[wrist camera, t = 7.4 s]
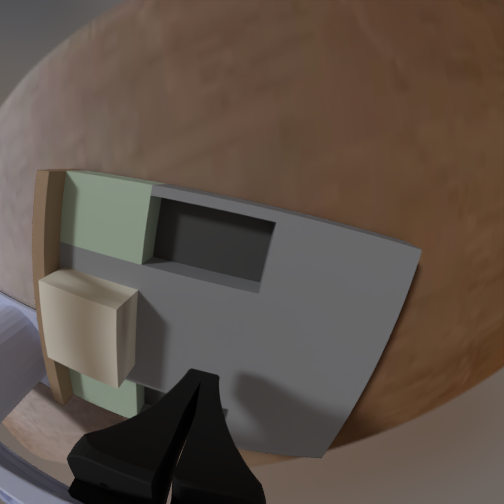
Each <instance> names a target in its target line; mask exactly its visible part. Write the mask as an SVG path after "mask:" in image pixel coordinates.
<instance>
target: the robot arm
mask: <svg viewBox="0 0 504 504" xmlns="http://www.w3.org/2000/svg"><path fill="white" fill-rule="evenodd" d="M219 379H220V377H219V376H218V375H217V374H213V373H208V372H204V371H200V370H197V369H193V368H191V369H189V370H188V371H187V373H186V374H185V375H184V376H183V377H182V379H181V380H180V381H179V382H178V383H177V384H176V385H175V386H174V387H173V388H172V389H171V390H170V391H169V392H167V393H166V394H165V395H164V396H163V397H161V398H160V399H159V400H158V401H157V402H155V403H154V404H153V405H151V406H150V407H148V408H147V409H145V410H144V411H142V412H140V413H139V414H137V415H135V416H133V417H131V418H129V419H127V420H125V421H123V422H121V423H118V424H116V425H113V426H111V427H108V428H105V429H102V430H99V431H95V432H91V433H87V434H84V435H83V436H82V437H81V439H80V440H79V441H78V442H77V443H76V444H75V446H74V447H73V449H72V450H71V452H70V453H69V455H68V457H67V461H68V464H69V466H70V469H71V471H72V473H73V475H74V477H75V479H74V481H73V482H72V484H71V486H70V487H69V486H67V485H65V484H63V483H61V482H60V481H58V480H56V479H55V478H53V477H51V476H49V475H48V474H46V473H44V472H43V471H41V470H40V469H38V468H37V467H35V466H33V465H32V464H30V463H29V462H27V461H26V460H24V459H23V458H22V457H20V456H19V455H17V454H16V453H15V452H13V451H12V450H10V449H9V448H8V447H6V446H5V445H4V444H3V443H1V442H0V499H1V500H2V501H3V502H5V503H6V504H166V502H167V498H168V494H169V491H170V487H171V483H172V497H171V503H170V504H266V499H265V495H264V491H263V488H262V485H261V483H260V482H259V481H258V480H257V478H256V477H255V476H254V474H253V473H252V472H251V471H250V469H249V468H248V466H247V465H246V463H245V462H244V460H243V458H242V457H241V455H240V453H239V451H238V449H237V448H236V446H235V444H234V441H233V439H232V437H231V435H230V432H229V430H228V427H227V424H226V421H225V417H224V414H223V410H222V405H221V400H220V392H219ZM39 382H41V383H43V384H45V385H46V386H48V387H50V384H49V380H48V376H47V371H46V367H45V362H44V357H43V352H42V347H41V341H40V335H39V328H38V321H37V313H36V310H34V309H32V308H30V307H28V306H26V305H24V304H22V303H20V302H18V301H17V300H15V299H13V298H11V297H9V296H7V295H5V294H4V293H2V292H0V423H1V422H2V421H3V420H4V419H5V417H6V416H7V415H8V414H9V413H10V412H11V411H12V410H13V409H14V408H15V407H16V406H17V405H18V404H19V402H20V401H21V400H22V399H23V398H24V397H25V396H26V395H27V394H28V393H29V392H30V391H31V390H32V389H33V388H34V387H35V386H36V385H37V384H38V383H39ZM186 439H187V440H186ZM185 441H186V443H185ZM184 444H185V445H184ZM183 446H184V448H183ZM182 449H183V451H182ZM181 451H182V453H181ZM180 453H181V456H180ZM179 456H180V459H179ZM178 459H179V461H178ZM177 462H178V464H177ZM176 465H177V466H176Z"/></svg>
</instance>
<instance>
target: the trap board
mask: <svg viewBox="0 0 504 504" xmlns="http://www.w3.org/2000/svg"><path fill="white" fill-rule="evenodd" d="M421 252H422V250H421V249H419V248H418V247H416V246H414V245H412V244H410V243H408V242H406V241H403V240H399V239H396V238H393V237H389V236H386V235H382V234H379V233H375V232H372V231H368V230H364V229H361V228H357V227H354V226H350V225H346V224H342V223H339V222H335V221H331V220H327V219H323V218H319V217H316V216H312V215H308V214H304V213H299V212H295V211H291V210H287V209H283V208H279V207H275V206H270V205H266V204H262V203H257V202H253V201H248V200H244V199H239V198H235V197H230V196H225V195H221V194H216V193H211V192H206V191H201V190H196V189H191V188H186V187H181V186H175V185H170V184H165V183H159V182H154V181H148V180H142V179H137V178H131V177H125V176H118V175H112V174H106V173H99V172H93V171H86V170H79V169H48V170H37V174H36V183H35V193H34V206H33V228H32V259H33V281H34V294H35V305H36V313H37V321H38V328H39V335H40V341H41V347H42V352H43V357H44V362H45V367H46V371H47V376H48V380H49V384H50V388H51V391H52V395H53V399H54V401H56V402H58V403H60V404H62V405H65V404H66V403H67V402H68V400H69V399H70V398H71V397H72V395H73V394H74V395H76V396H78V397H80V398H82V399H84V400H86V401H89V402H91V403H93V404H95V405H98V406H100V407H102V408H104V409H107V410H109V411H112V412H114V413H117V414H119V415H122V416H124V417H127V418H131V417H133V416H135V415H137V414H139V413H140V412H142V411H144V410H145V409H147V408H148V407H150V406H151V405H153V404H154V403H155V402H157V401H158V400H159V399H160V398H161V397H163V396H164V395H165V394H166V393H167V392H169V391H170V390H171V389H172V388H173V387H174V386H175V385H176V384H177V383H178V382H179V381H180V380H181V379H182V377H183V376H184V375H185V374H186V373H187V371H188V370H189V369H191V368H193V369H197V370H200V371H204V372H208V373H213V374H217V375H218V376H219V377H220V379H219V392H220V400H221V405H222V410H223V414H224V417H225V421H226V424H227V427H228V430H229V432H230V435H231V437H232V439H233V441H234V444H235V446H236V448H238V449H244V450H250V451H256V452H263V453H270V454H278V455H287V456H297V457H311V458H322V456H323V455H324V454H325V452H326V451H327V449H328V448H329V446H330V445H331V443H332V442H333V440H334V439H335V437H336V436H337V434H338V432H339V431H340V429H341V428H342V426H343V424H344V423H345V421H346V419H347V418H348V416H349V414H350V413H351V411H352V409H353V408H354V406H355V404H356V402H357V401H358V399H359V397H360V395H361V393H362V392H363V390H364V388H365V386H366V384H367V382H368V380H369V379H370V377H371V375H372V373H373V371H374V369H375V367H376V365H377V363H378V361H379V359H380V356H381V354H382V352H383V350H384V348H385V346H386V344H387V341H388V339H389V337H390V335H391V332H392V330H393V328H394V326H395V323H396V321H397V318H398V316H399V313H400V311H401V308H402V306H403V303H404V301H405V298H406V296H407V293H408V290H409V287H410V285H411V282H412V279H413V276H414V273H415V270H416V267H417V264H418V261H419V258H420V255H421ZM63 267H68V268H71V269H74V270H77V271H80V272H83V273H86V274H89V275H92V276H95V277H98V278H101V279H104V280H107V281H111V282H114V283H117V284H120V285H124V286H127V287H130V288H134V289H137V290H138V300H137V317H136V343H135V365H134V367H133V368H132V370H131V371H130V372H129V374H128V375H127V377H126V378H125V380H124V381H123V383H122V384H121V386H120V387H119V389H117V388H114V387H112V386H109V385H107V384H105V383H102V382H100V381H97V380H95V379H93V378H90V377H88V376H86V375H84V374H82V373H79V372H77V371H75V370H73V369H71V368H69V367H67V366H65V365H63V364H61V363H59V362H57V361H55V360H53V359H51V358H49V357H48V355H47V349H46V344H45V337H44V331H43V323H42V315H41V306H40V295H39V280H40V279H42V278H44V277H45V276H47V275H49V274H51V273H53V272H55V271H57V270H59V269H61V268H63Z"/></svg>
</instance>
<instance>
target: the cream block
mask: <svg viewBox="0 0 504 504" xmlns="http://www.w3.org/2000/svg"><path fill="white" fill-rule="evenodd" d="M39 295H40V306H41V315H42V323H43V331H44V337H45V344H46V349H47V355H48V357H49V358H51V359H53V360H55V361H57V362H59V363H61V364H63V365H65V366H67V367H69V368H71V369H73V370H75V371H77V372H79V373H82V374H84V375H86V376H88V377H90V378H93V379H95V380H97V381H100V382H102V383H105V384H107V385H109V386H112V387H114V388H117V389H119V387H120V386H121V384H122V383H123V381H124V380H125V378H126V377H127V375H128V374H129V372H130V371H131V370H132V368H133V367H134V365H135V343H136V317H137V300H138V290H137V289H134V288H130V287H127V286H124V285H120V284H117V283H114V282H111V281H107V280H104V279H101V278H98V277H95V276H92V275H89V274H86V273H83V272H80V271H77V270H74V269H71V268H68V267H63V268H61V269H59V270H57V271H55V272H53V273H51V274H49V275H47V276H45V277H44V278H42V279H40V280H39Z"/></svg>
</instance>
